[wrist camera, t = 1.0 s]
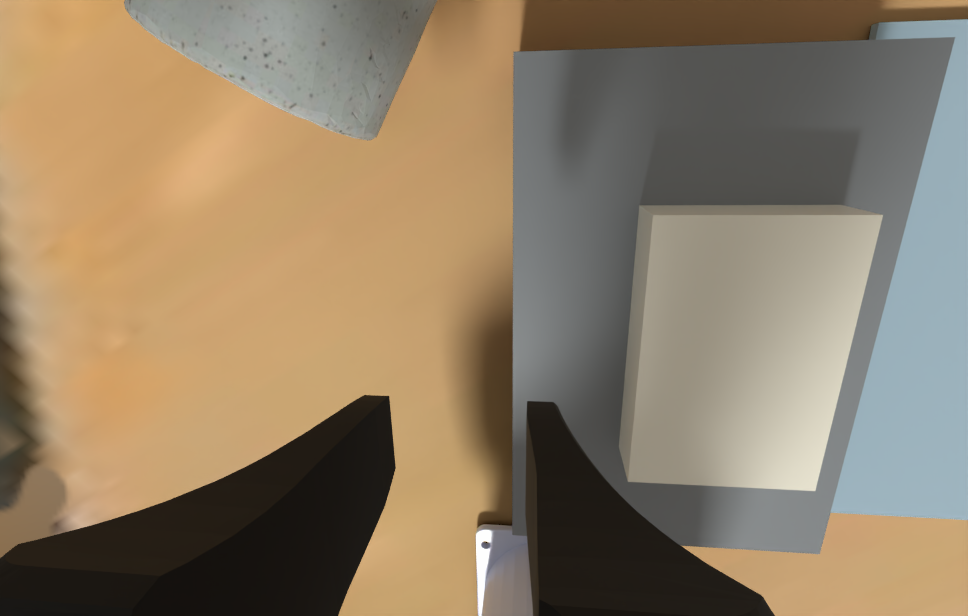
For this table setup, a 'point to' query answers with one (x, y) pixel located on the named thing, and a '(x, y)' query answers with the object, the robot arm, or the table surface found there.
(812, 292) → the cream rectangular block
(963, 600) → the table surface
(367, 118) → the ceramic mug
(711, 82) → the plate
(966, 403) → the mat
